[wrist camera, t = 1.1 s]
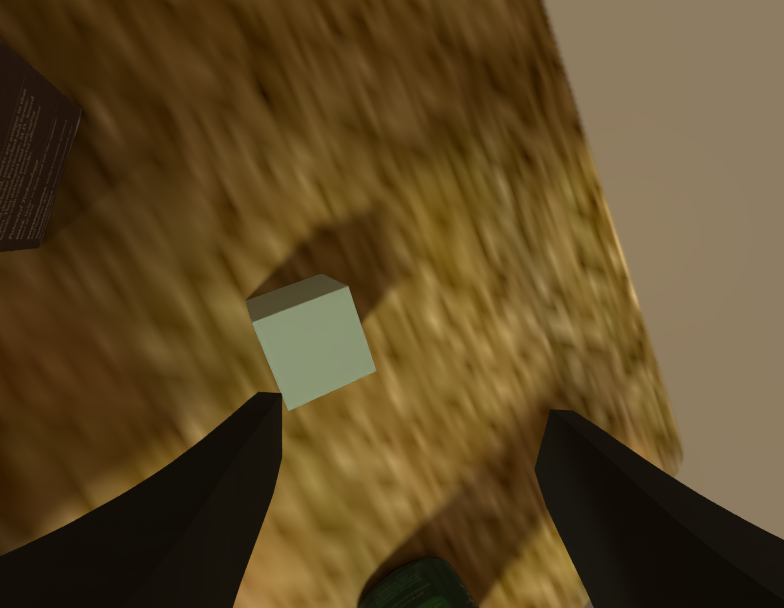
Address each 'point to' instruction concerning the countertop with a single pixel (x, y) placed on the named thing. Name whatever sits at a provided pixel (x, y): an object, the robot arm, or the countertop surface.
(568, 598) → the countertop surface
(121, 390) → the countertop surface
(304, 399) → the sage block
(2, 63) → the box
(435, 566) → the coffee jar
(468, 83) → the countertop surface
